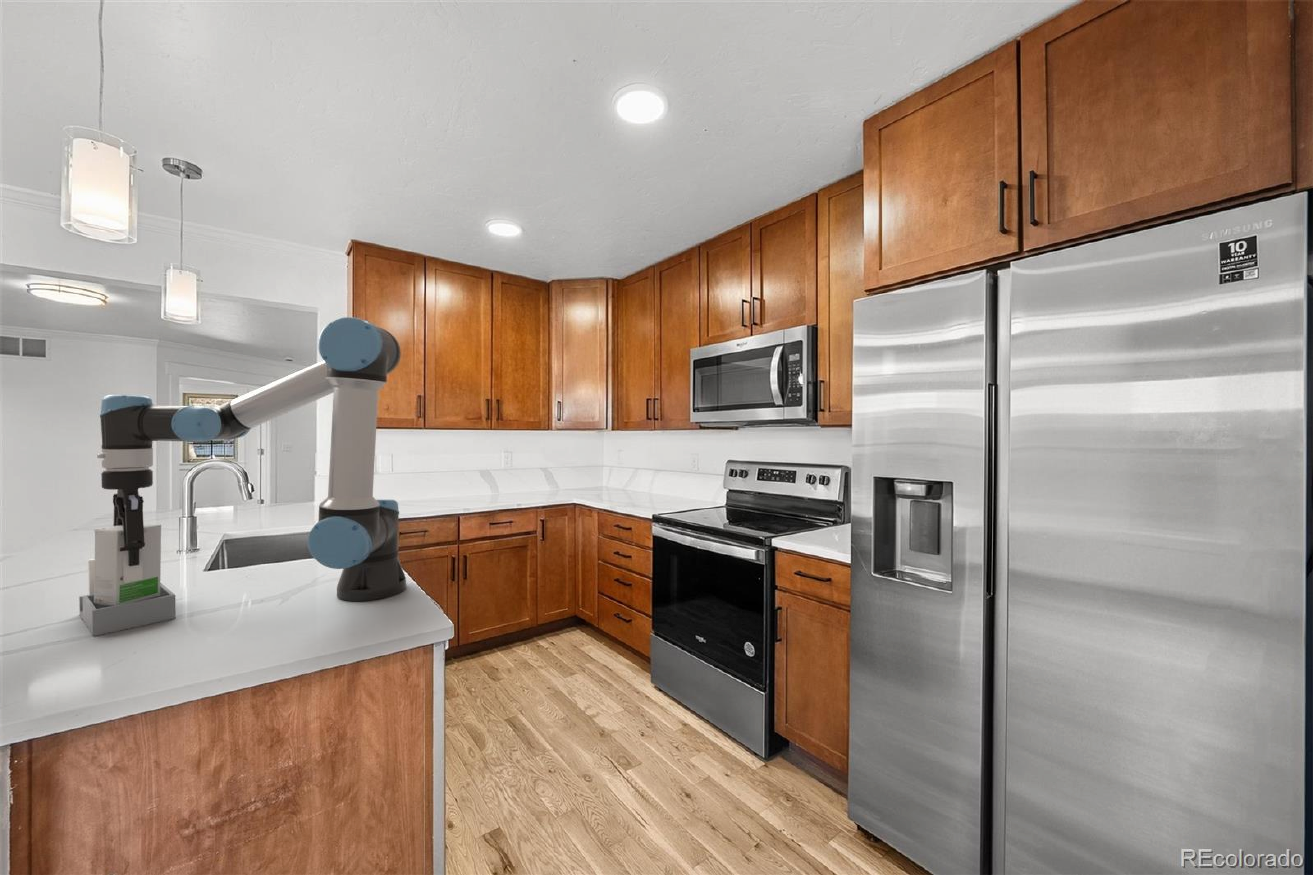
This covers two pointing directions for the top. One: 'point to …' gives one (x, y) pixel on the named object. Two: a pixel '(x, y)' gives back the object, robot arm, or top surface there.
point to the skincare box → (111, 567)
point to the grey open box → (124, 610)
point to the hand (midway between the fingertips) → (128, 576)
